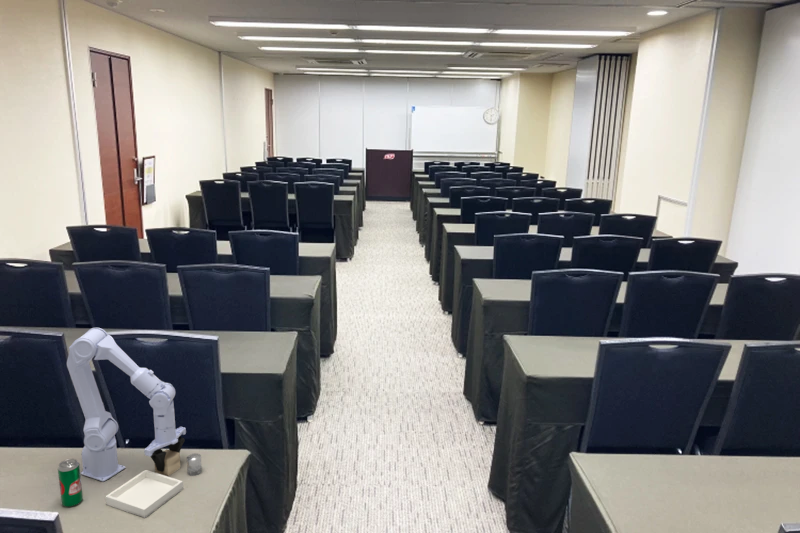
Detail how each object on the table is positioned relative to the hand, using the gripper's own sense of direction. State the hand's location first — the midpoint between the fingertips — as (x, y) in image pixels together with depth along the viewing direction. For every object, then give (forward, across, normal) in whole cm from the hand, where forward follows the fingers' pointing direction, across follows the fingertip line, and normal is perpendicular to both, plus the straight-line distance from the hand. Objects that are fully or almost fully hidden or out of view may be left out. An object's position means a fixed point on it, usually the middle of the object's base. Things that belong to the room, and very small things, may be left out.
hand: (167, 465), depth 169 cm
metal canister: (+2, +2, -8) cm, 9 cm away
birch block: (+1, 0, 0) cm, 1 cm away
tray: (+1, -12, -4) cm, 13 cm away
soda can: (+2, -22, +12) cm, 26 cm away
